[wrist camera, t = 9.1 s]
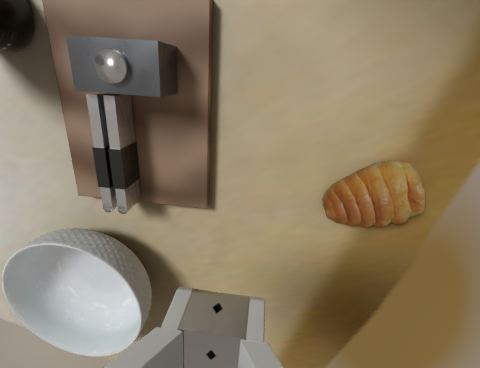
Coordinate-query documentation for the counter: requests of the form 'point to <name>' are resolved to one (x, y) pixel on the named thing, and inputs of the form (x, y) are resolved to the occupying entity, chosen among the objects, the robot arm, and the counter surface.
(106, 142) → the fixed tong arm
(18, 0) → the supplement bottle
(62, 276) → the cereal bowl
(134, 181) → the loose tong arm
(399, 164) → the pastry
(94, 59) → the tong hinge
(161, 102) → the walnut board
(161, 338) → the robot arm
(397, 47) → the counter surface
